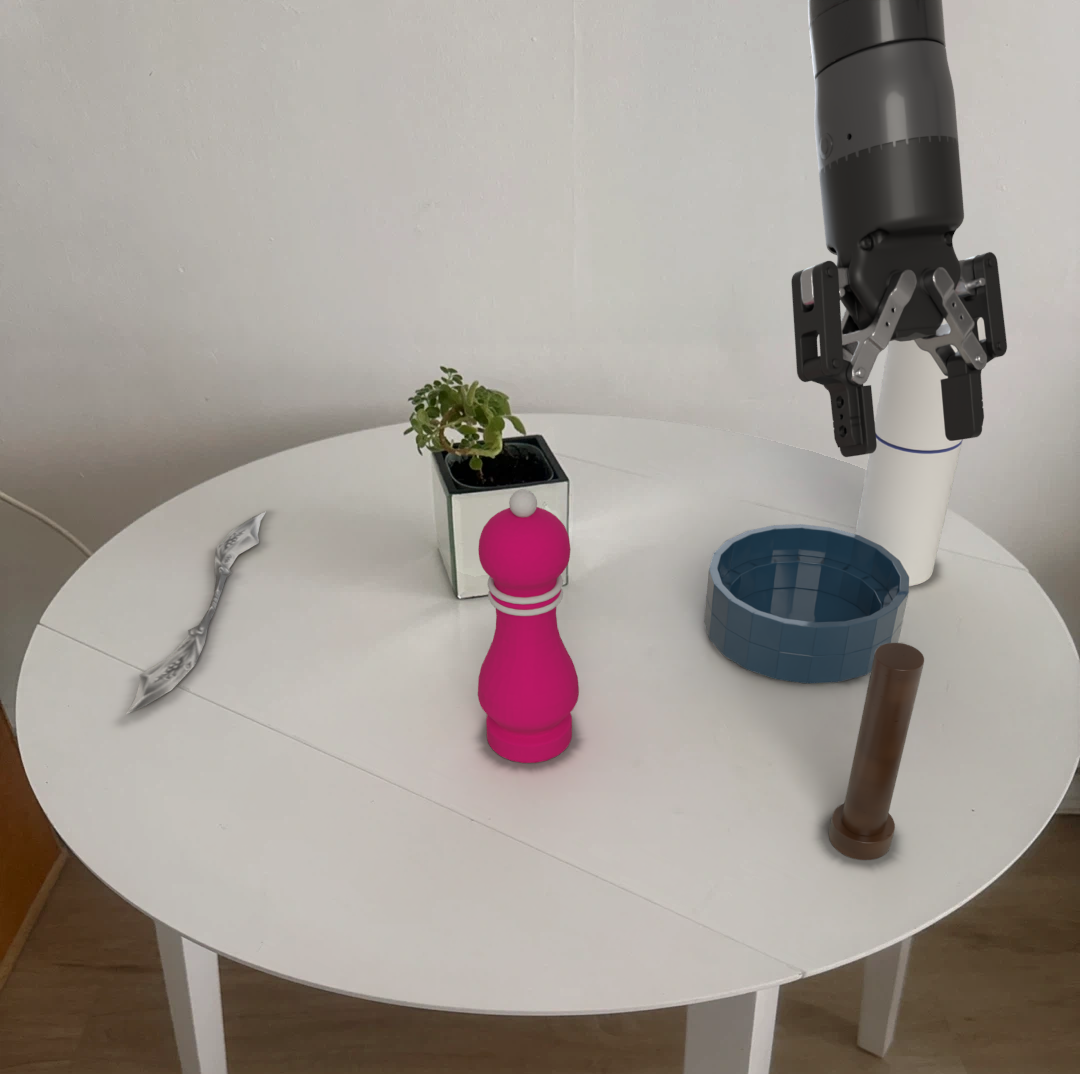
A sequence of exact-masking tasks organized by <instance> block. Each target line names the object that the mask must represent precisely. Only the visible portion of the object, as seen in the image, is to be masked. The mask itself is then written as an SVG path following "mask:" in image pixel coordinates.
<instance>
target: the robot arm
mask: <svg viewBox="0 0 1080 1074" xmlns="http://www.w3.org/2000/svg"><path fill="white" fill-rule="evenodd" d="M807 17H808V30H809V42H810V51H811V63H812V72H813V80H814V117H813V118H814V119H813V120H814V121H813V123H814V124H813V125H814V139H815V140H814V141H815V147H816V158H817V168H818V177H819V187H820V196H821V197H820V198H821V207H822V219H823V226H824V238H825V246H826V249H827V250H828V252H829V253H831V255H832V254H833V255H835V256H836V258H837V259H836V262H834V261H832V260H825V261H823V262H820V263H818V264H814V265H812V266H809V267H807V268H804V269H801V270H798V271H796V272H795V273H793V275H792V276H791V299H792V314H793V315H792V316H793V329H794V331H793V332H794V346H795V348H794V349H795V362H796V363H795V364H796V365H795V366H796V375H797V378H798V379H799V380H800V381H801V382H803V383H808V382H813V383H815V384H819V385H822V386H823V387H824V389H826V391H828V393H829V398H830V407H831V417H832V427H833V436H834V442H835V444H836V446H837V449H839V451H840V454H841V456H843V457H844V458H850V457H857V456H863V455H869V454H871V453H873V452H874V451H875V450H876V447H877V442H876V432H875V414H874V412H875V411H874V402H873V400H874V399H873V392H872V385H871V384H869V385H864V384H865V383H867V382H868V379H869V377H870V375H871V372H872V371H873V367H874V365H875V363H876V361H877V358H878V356H879V354H880V353H881V352H883V351H884V350H885V349H887V348H888V344H889V342H890V341H893V340H896V341H900V342H902V341H911V340H914V341H915V343H916V344H917V346H918V347H919V348H920V349H921V350H924V351H927V352H929V353H930V354H931V356H932V357H933V359H934V360H935V362H936V363H937V365H938V366H939V368H940V370H941V371H942V373H943V374H944V375H945V376H948V378H946V379H941V391H942V403H943V415H944V426H945V436H946V438H947V439H948V440H949V441H955V440H962V439H963V440H968V439H974V438H978V437H980V436H981V434H982V432H983V424H984V419H985V412H984V402H983V387H982V386H983V385H982V371H983V369H985V368H986V366H987V364H988V363H989V362H991V361H993V360H995V359H996V358H1001V357H1004V355H1005V354H1006V353H1007V351H1008V342H1007V334H1006V325H1005V315H1004V306H1003V300H1002V288H1001V281H1000V273H999V263H998V258H997V256H996V254H995V253H993V252H992V251H987V252H985V253H982V254H977V255H973V256H971V257H967V258H965V259H960V260H959V258H958V257H957V254H956V251H955V249H954V244H953V243H954V242H953V239H954V235H955V233H956V231H957V230H958V229H959V228H961V226H962V224H963V222H964V219H965V209H964V195H963V184H962V182H963V181H962V171H961V159H960V146H959V133H958V121H957V108H956V96H955V89H954V85H953V79H952V74H951V72H950V71H951V70H950V67H949V60H948V53H947V48H946V45H947V44H946V34H945V33H946V32H945V21H944V20H945V19H944V7H943V0H807ZM841 303H842V305H843V306H844V308H845V310H844V313H843V315H842V314H841V312H842V311H841ZM944 318H945V320H946V322H947V323H946V324H942V322H943V320H944ZM979 318H983V320H984V328H985V337H986V339H983V340H979V334H978V326H977V321H978V319H979ZM941 324H942V325H941ZM818 338H819V339H818ZM818 340H819V341H818ZM818 342H819V348H818ZM951 345H953V346H955V347H956V348H957V350H958V352H956V353H955V351H954V350H953V348H952V347H951Z"/></svg>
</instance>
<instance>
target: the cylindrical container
mask: <svg viewBox="0 0 1080 1074" xmlns="http://www.w3.org/2000/svg"><path fill="white" fill-rule="evenodd" d="M946 323H947V322H946V320H945V318H944V320H943V322H942V324H946ZM942 324H941V325H942ZM977 326H978V334H979V340H983V339H986V337H985V328H984V320H983V318H979V319H978V321H977ZM951 347H952V348H953V350H954V351H955V353H956V352H958V350H957V348H956V347H955V346H953V345H951ZM946 378H948V376H945V375H944V374H943V373H942V371H941V370H940V368H939V366H938V365H937V363H936V362H935V360H934V359H933V357H932V356H931V354H930V353H929V352H927V351H924V350H921V349H920V348H919V347H918V346H917V344H916V343H915V341H914V340H911V341H902V342H900V341H896V340H893V341H890V342H889V344H888V345H887V348H886V355H885V360H884V365H883V372H882V379H881V384H880V389H879V395H878V400H877V407H876V412H875V416H874V421H875V432H876V442H877V447H876V450H875V451H874V452H873V453H871V454H868V458H867V463H866V468H865V474H864V481H863V487H862V493H861V498H860V503H859V510H858V516H857V522H856V525H855V526H856V527H855V532H854V534H856V535H860V536H862V537H864V538H866V539H868V540H870V541H872V542H874V543H877V544H879V545H881V546H882V547H884V548H885V549H886V550H887V551H889V552H890V553H891V554H892V555H894V556H895V557H896V558H897V559H898V560H899V561H900V562H901V563H902V565H903V567H904V569H905V570H906V572H907V574H908V576H909V587H912V586H913V587H914V586H917V585H920V584H922V583H925V582H926V581H928V580H929V579H930V578H931V577H932V576H933V572H934V568H935V564H936V559H937V555H938V550H939V548H940V547H939V546H940V542H941V539H942V533H943V528H944V524H945V520H946V516H947V511H948V506H949V502H950V497H951V493H952V488H953V485H954V480H955V477H956V471H957V468H958V462H959V459H960V454H961V450H962V445H963V441H964V439H962V440H955V441H949V440H948V439H947V438H946V436H945V426H944V415H943V403H942V391H941V379H946Z"/></svg>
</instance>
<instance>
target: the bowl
mask: <svg viewBox="0 0 1080 1074" xmlns="http://www.w3.org/2000/svg"><path fill="white" fill-rule="evenodd" d="M707 574H708V575H707V585H706V596H705V597H706V598H705V605H704V606H705V607H704V620H703V624H704V627H705V629H706V634H707V637H708V639H709V641H710V642H711V643H712V644H713V645H714V647H716V649H717V650H718V651H719V652H720V653H721V654H722V656H724V657H725V658H727V659H729V660H730V661H732V662H734V663H735V664H737V665H738V666H740V667H741V668H743V669H745V670H747V671H751V672H753V673H755V674H759V675H761V676H764V677H768V678H770V679H774V680H779V681H784V682H785V681H786V682H789V683H790V682H791V683H801V684H807V685H808V684H809V685H810V684H828V683H831V684H832V683H841V682H845V681H849V680H852V679H857V678H860V677H863V676H867V675H869V674H871V669H872V664H873V659H874V654H875V651H876V649H877V648H878V647H879V646H881V645H883V644H887V643H899V640H900V635H901V631H902V625H903V622H904V616H905V612H906V607H907V602H908V599H909V593H910V586H909V576H908V574H907V572H906V570H905V569H904V567H903V565H902V563H901V562H900V561H899V560H898V559H897V558H896V557H895V556H894V555H892V554H891V553H890V552H889V551H887V550H886V549H885V548H884V547H882V546H881V545H879V544H877V543H874V542H872V541H870V540H868V539H866V538H864V537H862V536H860V535H856V534H855V533H853V532H849V531H845V530H842V529H838V528H834V527H830V526H823V525H821V526H820V525H813V524H806V523H805V524H804V523H798V524H797V523H796V524H794V523H793V524H773V525H768V526H763V527H758V528H755V529H754V528H753V529H749V530H745V531H743V532H742V533H740V534H739V533H738V534H737V535H735V536H733V537H730V538H729V539H727V540H725V542H723V543H722V544H721V545H720V546H719V547H718V548H717V549H716V550H715V551H714V552H713V554H712V556H711V560H710V563H709V567H708V573H707Z"/></svg>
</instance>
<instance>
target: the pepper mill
mask: <svg viewBox="0 0 1080 1074" xmlns="http://www.w3.org/2000/svg"><path fill="white" fill-rule="evenodd" d="M508 504H509V505H508V506H509V507H508V508H505V509H502V510H501V511H498V512H497V513H495V514H494V515H492V516H491V517H490V518H489V519H488V521H487V522H486V523H485V525H484V526H483V528H482V530H481V533H480V535H479V540H478V560H479V562H480V565H481V568H482V570H483V571H484V572H485V573H486V575H488V578H487V579H488V580H487V588H488V593H487V597H488V600H489V603H490V604H491V605H492V607H494V608H495V614H496V615H495V616H496V617H495V629H494V633H493V638H492V641H491V643H490V646H489V649H488V650H487V653H486V655H485V656H484V659H483V662H482V664H481V666H480V671H479V674H478V680H477V698H478V702H479V705H480V707H481V709H482V710H483V712H484V713H485V714H486V719H485V721H486V722H485V723H486V740H487V744H488V745H489V747H490V748H491V749H492V750H493V751H494V752H495V754H497V755H498V756H500V757H502V758H504V759H506V760H509V761H510V762H516V763H522V764H536V763H541V762H546V761H547V762H548V761H549V760H551V759H553V758H556V757H558V756H559V755H561V754H562V753H563V752H564V751H565V750H567V748H568V747H569V745H570V743H571V741H572V739H573V716H572V712H573V710H574V709H575V707H576V705H577V702H578V701H579V695H580V687H579V677H578V674H577V670H576V667H575V663H574V662H573V659H572V657H571V656H570V654H569V652H568V650H567V648H566V646H565V644H564V642H563V640H562V638H561V637H562V636H561V634H560V631H559V627H558V619H557V618H558V617H557V606H558V605H560V603H561V602H562V600H563V597H564V591H563V585H564V579H563V577H562V574H563V573H564V571H565V570H566V569H567V567H568V566H569V562H570V558H571V542H570V536H569V533H568V531H567V529H566V526H565V524H564V523H563V522H562V520H560V518H558V517H557V516H556V515H555V514H554V513H552V512H551V511H549V510H547V509H545V508H542V507H539V506H538V501H537V496H536V495H535V494H534V493H533V492H532V491H531V490H529V489H526V488H525V489H523V488H522V489H521V488H520V489H518V490H516V491H515V492H513V493H512V494H511V496H510V498H509V502H508Z"/></svg>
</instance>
